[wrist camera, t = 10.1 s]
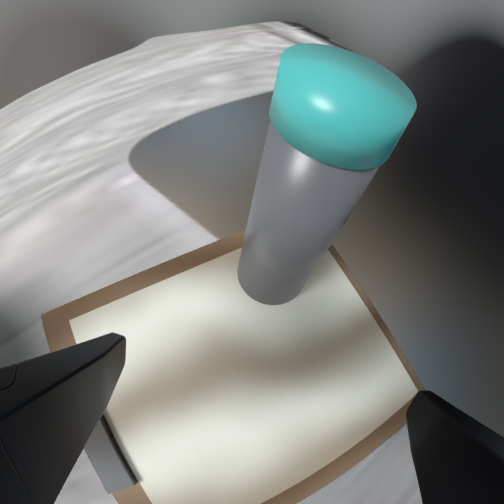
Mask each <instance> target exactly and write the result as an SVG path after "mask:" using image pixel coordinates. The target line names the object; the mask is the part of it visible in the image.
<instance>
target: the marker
mask: <svg viewBox="0 0 504 504" xmlns="http://www.w3.org/2000/svg"><path fill="white" fill-rule="evenodd" d="M415 110H416V100H415V98H414V96H413V94H412V92H411V91H410V90H409V88H408V87H407V86H406V85H405V84H404V83H403V82H402V81H401V80H400V79H399V78H398V77H397V76H396V75H394V74H393V73H391V72H390V71H389V70H387V69H386V68H384V67H383V66H381V65H379V64H378V63H376V62H374V61H372V60H370V59H368V58H366V57H364V56H362V55H359V54H357V53H354V52H351V51H348V50H345V49H342V48H338V47H334V46H329V45H323V44H299V45H294V46H291V47H289V48H287V49H286V50H285V51H284V52H283V53H282V56H281V60H280V65H279V69H278V74H277V78H276V83H275V87H274V92H273V96H272V101H271V105H270V112H269V115H270V124H269V128H268V133H267V137H266V141H265V146H264V150H263V155H262V159H261V164H260V168H259V173H258V177H257V182H256V186H255V191H254V195H253V200H252V204H251V209H250V213H249V218H248V223H247V227H246V232H245V236H244V241H243V245H242V250H241V255H240V259H239V264H238V270H237V275H238V280H239V283H240V285H241V287H242V289H243V290H244V292H245V293H246V294H247V295H248V296H249V297H251V298H252V299H254V300H255V301H257V302H260V303H262V304H266V305H280V304H284V303H287V302H289V301H290V300H292V299H293V298H294V297H296V295H297V294H298V293H299V292H300V290H301V289H302V287H303V286H304V284H305V283H306V281H307V280H308V278H309V277H310V275H311V274H312V272H313V271H314V269H315V268H316V266H317V265H318V263H319V262H320V260H321V259H322V257H323V256H324V254H325V253H326V251H327V250H328V248H329V247H330V245H331V244H332V242H333V241H334V239H335V237H336V236H337V234H338V233H339V231H340V230H341V228H342V227H343V225H344V224H345V222H346V220H347V219H348V217H349V216H350V214H351V212H352V211H353V209H354V208H355V206H356V204H357V203H358V201H359V199H360V198H361V196H362V195H363V193H364V191H365V190H366V188H367V187H368V185H369V183H370V182H371V180H372V178H373V177H374V175H375V173H376V172H377V170H378V168H379V166H380V165H382V164H383V163H385V161H386V160H387V159H388V157H389V156H390V154H391V152H392V151H393V149H394V147H395V146H396V144H397V142H398V140H399V139H400V137H401V135H402V134H403V132H404V130H405V128H406V127H407V125H408V123H409V121H410V119H411V118H412V116H413V114H414V112H415Z"/></svg>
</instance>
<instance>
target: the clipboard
mask: <svg viewBox="0 0 504 504" xmlns="http://www.w3.org/2000/svg"><path fill="white" fill-rule="evenodd" d="M245 232H246V230H244V231H241V232H239V233H236V234H233V235H231V236H229V237H226V238H224V239H221V240H218V241H216V242H213V243H211V244H208V245H206V246H203V247H201V248H199V249H196V250H194V251H191V252H189V253H186V254H184V255H181V256H179V257H176V258H174V259H172V260H169V261H167V262H164V263H162V264H159V265H157V266H155V267H152V268H150V269H147V270H145V271H143V272H140V273H138V274H135V275H133V276H131V277H128V278H126V279H123V280H121V281H119V282H116V283H114V284H112V285H109V286H107V287H105V288H102V289H100V290H98V291H95V292H93V293H91V294H88V295H86V296H84V297H81V298H79V299H77V300H74V301H72V302H70V303H67V304H65V305H63V306H61V307H58V308H56V309H54V310H51V311H49V312H47V313H45V314H42V315H41V318H42V322H43V326H44V330H45V334H46V337H47V341H48V344H49V348H50V351H51V352H54V351H57V350H60V349H63V348H67V347H70V346H73V345H76V344H79V343H82V342H85V341H88V340H91V339H94V338H97V337H100V336H102V335H105V334H108V333H112V332H114V333H117V334H120V335H123V336H125V338H126V360H125V365H124V368H123V370H122V373H121V375H120V377H119V380H118V382H117V384H116V387H115V389H114V391H113V394H112V396H111V399H110V401H109V403H108V405H107V408H106V409H105V411H104V413H103V415H102V417H101V418H100V420H99V422H98V424H97V425H96V427H95V429H94V431H93V432H92V434H91V436H90V438H89V439H88V441H87V443H86V445H85V447H84V449H85V451H86V453H87V455H88V457H89V459H90V461H91V463H92V465H93V467H94V469H95V471H96V473H97V475H98V476H99V478H100V480H101V482H102V484H103V485H104V487H105V489H106V491H107V492H108V494H110V493H112V494H113V496H114V497H115V499H116V501H117V502H118V504H296V503H298V502H300V501H301V500H303V499H305V498H306V497H308V496H310V495H311V494H313V493H315V492H316V491H318V490H319V489H321V488H323V487H324V486H326V485H327V484H329V483H330V482H332V481H333V480H335V479H336V478H338V477H339V476H340V475H342V474H343V473H345V472H346V471H348V470H349V469H350V468H352V467H353V466H354V465H356V464H357V463H358V462H360V461H361V460H362V459H364V458H365V457H366V456H368V455H369V454H370V453H372V452H373V451H374V450H375V449H377V448H378V447H379V446H380V445H382V444H383V443H384V442H385V441H386V440H388V439H389V438H390V437H391V436H392V435H393V434H395V433H396V432H397V431H398V430H399V429H400V428H401V427H403V426H404V425H405V424H406V423H407V421H406V411H407V408H408V407H409V405H410V403H411V402H412V400H413V398H414V397H415V395H416V393H417V392H418V391H420V390H425V389H424V387H423V386H422V384H421V382H420V381H419V379H418V377H417V375H416V374H415V372H414V370H413V369H412V367H411V365H410V364H409V362H408V360H407V359H406V357H405V355H404V354H403V352H402V350H401V349H400V347H399V345H398V344H397V342H396V341H395V339H394V337H393V336H392V334H391V332H390V331H389V329H388V328H387V326H386V325H385V323H384V322H383V320H382V318H381V317H380V315H379V314H378V312H377V310H376V309H375V307H374V306H373V304H372V303H371V301H370V300H369V298H368V297H367V295H366V294H365V293H364V291H363V289H362V288H361V286H360V285H359V283H358V282H357V280H356V279H355V277H354V276H353V274H352V273H351V271H350V270H349V268H348V267H347V265H346V264H345V263H344V261H343V260H342V258H341V257H340V255H339V254H338V253H337V251H336V250H335V248H334V247H333V245H332V244H331V245H330V247H329V248H328V250H327V251H326V253H325V254H324V256H323V257H322V259H321V260H320V262H319V263H318V265H317V266H316V268H315V269H314V271H313V272H312V274H311V275H310V277H309V278H308V280H307V281H306V283H305V284H304V286H303V287H302V289H301V290H300V292H299V293H298V294H297V295H296V297H294V298H293V299H292V300H290V301H289V302H287V303H284V304H280V305H266V304H262V303H260V302H257V301H255V300H254V299H252V298H251V297H249V296H248V295H247V294H246V293H245V292H244V290H243V289H242V287H241V285H240V283H239V280H238V275H237V270H238V264H239V259H240V255H241V250H242V245H243V241H244V236H245Z"/></svg>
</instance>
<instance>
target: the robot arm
mask: <svg viewBox="0 0 504 504" xmlns="http://www.w3.org/2000/svg"><path fill="white" fill-rule="evenodd" d="M125 360H126V338H125V336H123V335H120V334H117V333H114V332H112V333H108V334H105V335H102V336H100V337H97V338H94V339H91V340H88V341H85V342H82V343H79V344H76V345H73V346H70V347H67V348H63V349H60V350H57V351H54V352H51V353H48V354H45V355H42V356H39V357H36V358H32V359H29V360H26V361H23V362H20V363H18V364H13V365H10V366H7V367H3V368H0V504H54V502H55V500H56V498H57V497H58V495H59V493H60V491H61V489H62V487H63V485H64V483H65V481H66V479H67V478H68V476H69V474H70V472H71V470H72V468H73V467H74V465H75V463H76V461H77V459H78V457H79V456H80V454H81V452H82V450H83V448H84V447H85V445H86V443H87V441H88V439H89V438H90V436H91V434H92V432H93V431H94V429H95V427H96V425H97V424H98V422H99V420H100V418H101V417H102V415H103V413H104V411H105V409H106V408H107V405H108V403H109V401H110V399H111V396H112V394H113V391H114V389H115V387H116V384H117V382H118V380H119V377H120V375H121V373H122V370H123V368H124V365H125ZM406 421H407V427H408V433H409V440H410V447H411V453H412V458H413V462H414V466H415V470H416V475H417V479H418V483H419V488H420V493H421V498H422V503H423V504H504V437H502V436H500V435H499V434H497V433H496V432H494V431H493V430H491V429H489V428H488V427H486V426H485V425H483V424H481V423H480V422H478V421H477V420H475V419H474V418H472V417H470V416H469V415H467V414H466V413H464V412H463V411H461V410H459V409H458V408H456V407H455V406H453V405H452V404H450V403H449V402H447V401H445V400H444V399H442V398H441V397H439V396H438V395H436V394H435V393H433V392H431V391H429V390H427V391H426V390H420V391H418V392H417V393H416V395H415V397H414V398H413V400H412V402H411V403H410V405H409V407H408V408H407V411H406Z"/></svg>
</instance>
